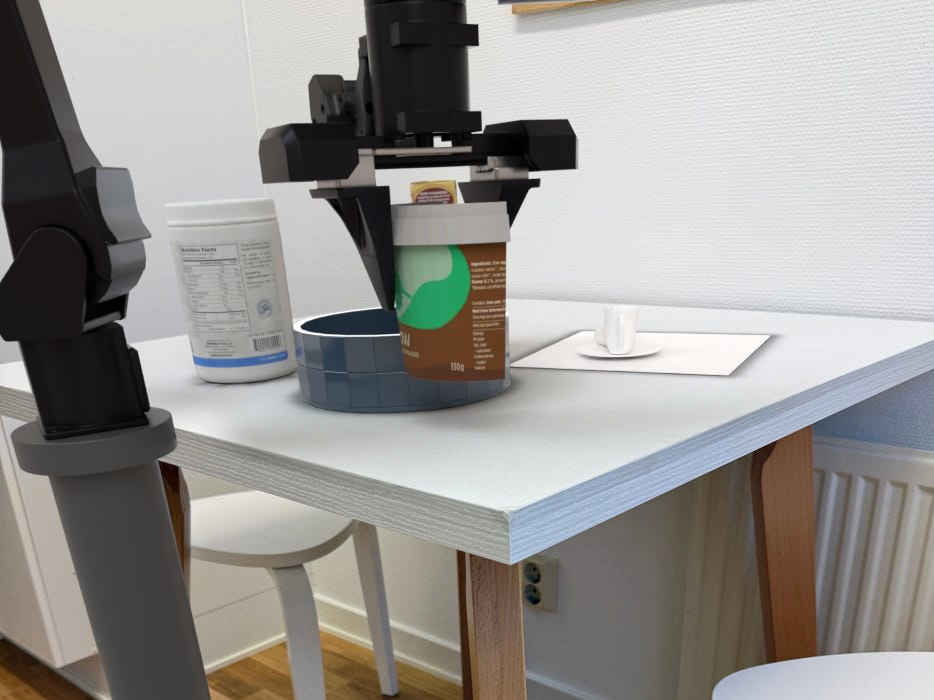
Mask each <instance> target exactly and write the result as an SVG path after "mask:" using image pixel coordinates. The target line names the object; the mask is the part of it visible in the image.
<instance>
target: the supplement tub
mask: <svg viewBox="0 0 934 700" xmlns="http://www.w3.org/2000/svg"><path fill="white" fill-rule="evenodd" d="M164 211H165V212H164V213H165V216H166V217H165V218H166V221H165V224H166V226H167V228H166V229H167V235H168V239H169V245H170V250H171V255H172V259H173V265H174V270H175V274H176V280H177V285H178V289H179V295H180V302H181V305H182V310H183V315H184V320H185V325H186V330H187V335H188V340H189V345H190V351H191V356H192V360H193V364H194V369H195V373H196V374H197V376H198V377H200V378H201V379H202V380H204V381H207V382H210V383H218V384H242V383H243V384H244V383H253V382H261V381H267V380H272V379H276V378H277V379H278V378H280V377H284V376H287V375H289V374H291V373H292V372H294V371H295V370H296V369H297V363H296V356H295V349H294V341H293V334H292V326H293V325H294V321H293V313H292V306H291V300H290V293H289V287H288V286H289V285H288V279H287V272H286V271H287V270H286V264H285V258H284V257H285V256H284V249H283V243H282V236H281V229H280V222H279V220H278V218H279V217H278V214H277V212H276V211H277V210H276V205H275V200H274V198H273V197H243V198H241V197H240V198H225V199H224V198H223V199H210V200H193V201H181V202H180V201H179V202H170V203H165V204H164Z"/></svg>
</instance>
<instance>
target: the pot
mask: <svg viewBox="0 0 934 700" xmlns="http://www.w3.org/2000/svg"><path fill="white" fill-rule="evenodd" d="M509 322H510V321H509V312H508V311H506V340H505V379H501V380H491V381H475V382H443V381H430V380H423V379H417V378H414V377H411V376H408V375H407V374H406V370H405V363H404V357H403V350H402V343H401V337H400V330H399V324H398V317H397V310H396V305H395V309H394V311H384V310H383V309H382V307H381V306H380V307H370V308H362V309H352V310H345V311H339V312H333V313H327V314H323V315H317V316H312V317H309V318H305V319H303V320H300V321H297V322H296V323H293V326H292V334H293V341H294V349H295V356H296V363H297V366H296V369H297V376H298V383H299V390H300V394H301V399H302V400H303V402H304V403H306V404H308V405H310V406H313V407H315V408H319V409H323V410H328V411H337V412H346V413H361V414H363V413H364V414H366V413H367V414H386V413H406V412H407V413H408V412H409V413H411V412H419V411H429V410H438V409H446V408H451V407H457V406H458V407H459V406H462V405H463V406H464V405H468V404H472V403H477V402H480V401H483V400H487V399H490V398H493V397H496V396H497V395H499V394H502V393H504V392H505V391H507V390H508V389H509V387H510V386H511V367H510V364H511V356H510V355H511V354H510V327H509V326H510V324H509Z"/></svg>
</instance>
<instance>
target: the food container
mask: <svg viewBox="0 0 934 700" xmlns="http://www.w3.org/2000/svg"><path fill="white" fill-rule="evenodd" d="M391 216H392V233H393V248H394V264H395V280H396V293H395V306H396V310H397V317H398V324H399V330H400V337H401V343H402V350H403V357H404V363H405V370H406V374H407V375H408V376H411V377H414V378H417V379H423V380H430V381H443V382H475V381H491V380H501V379H505V340H506V312H507V243H508V242H509V243H510V242H511V241H512V240H511V239H512V238H511V229H510V227H509V216H508V214H507V207H506V202H485V203H464V202H463V203H457V204H444V203H443V201H440V202H420V203H411V202H407V203H406V202H405V203H394V204H393V203H391Z"/></svg>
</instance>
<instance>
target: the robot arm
mask: <svg viewBox="0 0 934 700" xmlns="http://www.w3.org/2000/svg"><path fill="white" fill-rule="evenodd" d="M589 1H590V2H593V1H597V0H497V5H498V6H509V5H532V4H551V3H553V4H555V3H572V2H573V3H575V2H589ZM363 8H364V11H363V13H364V22H365V33H366V34H364V35H362V36H359V37H358V49H357V58H358V69H357V75H356V79H344V77H343V76H342V75H341V74H332V73H331V74H330V73H329V74H328V73H327V74H326V73H323V74H319V73H317V74H313V75H312V76H311V78H310V80H309V82H308V84H307V86H308V87H307V90H308V91H307V92H308V101H309V115H310V120H311V122H290V123H286V124H282V125H278V126H273V127H270V128H266V129H265V131H264V132H263V134H262V136H261V137H260V140H259V142H258V143H259V145H258V160H259V166H260V173H261V180H262V184H263V185H268V184H290V183H314V182H316V184H315V185H316V188H309V189H308V192H309V195H310V197H311V199H319V200H320V199H323V200H325V201H326V202H327V203H328V205H329V206H330V207H331V208H332V209H333V211H334V212H335V213H336V214H337V215H338V217H339V218H340V220H341V222H342V223H343V225H344V226H345V228H346V230H347V233H349V235H350V237H351V239H352V241H353V243H354V246H355V248H356V250H357V252H358V255H359V258H360V259H361V263H362V264H363V266H364V269H365V271H366V274H367V275H368V278H369V280H370V284H371V285H372V288H373V290H374V292H375V295H376V297H377V299H378V300H377V301H378V302H379V304H380V307H382V309H383V310H384V311H394V309H395V306H396V304H395V293H396V280H395V264H394V248H393V233H392V216H391V205H392V203H391V188H390V185H377V177H376V176H377V175H376V171H381V170H383V171H384V170H406V169H407V170H408V169H409V170H410V169H431V168H434V169H436V168H456V167H457V168H461V167H468V170H469V171H468V172H469V181H457V187H458V190H459V192H460V195H461V198H462V201H463V203H485V202H506V207H507V214H508V216H509V227H510V230H511V228H512V226H513V225H514V222H515V220H516V218H517V216H518V214H519V212H520V209H521V208H522V205H523V204H524V201H525V199H526V197H527V195H528V194H529V191H530V190H531V189H537V188H538V189H539V188H541V184H542V178H541V177H539V178H538V177H537V178H530V173H538V172H539V173H540V172H554V171H571V170H579V138H578V135H576V132H575V130H574V128H573V126H572V124H571V123H570V120H569V119H568V118H549V119H547V118H546V119H542V118H541V119H536V118H535V119H516V120H510V121H503V122H498V123H497V122H496V123H490V124H485V125H484V128H483V117H482V115H483V114H482V110H471V87H470V86H471V84H470V63H469V62H470V61H469V60H470V59H469V50H471V49H473V48H477V47H480V31H479V23H468V14H467V13H468V11H467V10H468V9H467V0H363ZM480 132H482V133H480ZM436 138H437V139H438V138H439V139H440V142H441V143H445V142H448V143H449V142H450V143H451V144H450V145H451V146H435V139H436ZM0 148H1V154H2V155H1V193H0V195H1V197H0V198H1V199H0V201H1V202H0V203H1V204H0V205H1V210H2V215H3V219H4V225H5V228H6V233H7V234H6V235H7V239H8V243H9V247H10V253H11V257H12V260H13V261H12V263H11V264H10V266H9V267H8V269H7V270H6V272H5V273H4V275H3V277H2V279H1V280H0V337H1V339H2V340H3V341H4V342H7V343H11V342H12V343H14V342H17V345H18V349H19V353H20V356H21V357H20V358H21V360H22V363H23V368H24V371H25V374H26V378H27V381H28V384H29V388H30V391H31V396H32V399H33V402H34V406H35V410H36V414H37V415H36V416H35V420H37V423H38V426H39V428H40V430H41V432H42V435H43V437H44V439H45V440H57V439H63V438H70V437H76V436H82V435H89V434H95V433H101V432H108V431H114V430H121V429H127V428H133V427H140V426H146V425H149V424H150V422H149V417H148V416H147V415H146V414H145V413H146V412H149V410H150V409H151V408H150V407H151V404H150V399H149V395H148V390H147V386H146V385H147V384H146V381H145V377H144V372H143V368H142V362H141V359H140V354H139V350H138V349H136V348H135V347H133V345H131V344H129V343H127V338H126V334H125V329H124V325H122V324H120V323H119V322H117V321H122V320H125V319H126V318H127V312H128V305H129V296H130V292H131V291H132V290H133V289H134V288H135V287H136V286H138V284H139V281H140V280H141V278H142V275H143V274H144V271H145V270H146V264H147V253H146V247H145V243H144V240H148V239H149V240H150V239H151V238H152V233H151V231H150V230H149V229H148V227H147V226H146V225H145V223H144V222H143V219H142V217H141V214H140V212H139V209H138V205H137V200H136V194H135V186H134V182H133V178H132V176H131V172H130V170H129V168H127V167H119V166H117V167H116V166H104V165H103V164H102V163H101V161H100V160H99V159H98V157H97V155H96V154H95V152H94V151H93V150H92V148H91V147H90V145H89V143H88V141H87V140H86V138H85V135H84V134H83V131H82V129H81V125H80V123H79V119H78V116H77V113H76V110H75V107H74V104H73V101H72V97H71V95H70V91H69V88H68V85H67V83H66V79H65V76H64V72H63V70H62V67H61V64H60V61H59V56H58V54H57V51H56V48H55V45H54V42H53V39H52V37H51V33H50V30H49V27H48V24H47V21H46V17H45V14H44V12H43V9H42V6H41V2H40V0H0Z"/></svg>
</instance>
